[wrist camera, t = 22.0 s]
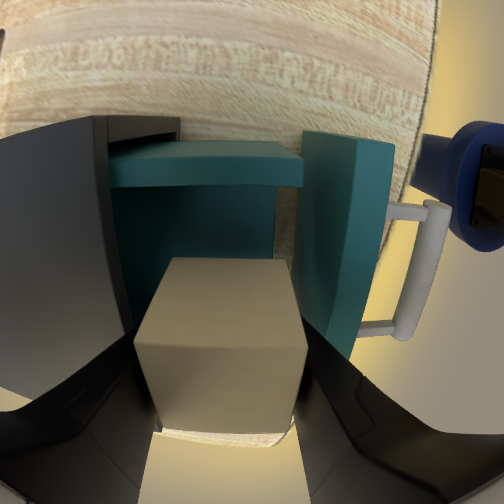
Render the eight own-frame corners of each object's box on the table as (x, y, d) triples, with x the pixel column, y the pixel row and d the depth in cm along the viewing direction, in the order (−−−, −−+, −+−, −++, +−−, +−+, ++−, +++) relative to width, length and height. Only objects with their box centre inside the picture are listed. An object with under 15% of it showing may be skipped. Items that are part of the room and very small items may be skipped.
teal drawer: (405, 144, 14) (502, 172, 7) (372, 312, 19) (416, 398, 12) (81, 138, 13) (-17, 163, 6) (107, 307, 18) (60, 390, 11)
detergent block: (286, 258, 9) (309, 347, 6) (277, 343, 11) (288, 433, 7) (172, 256, 9) (132, 341, 5) (182, 341, 11) (163, 429, 7)
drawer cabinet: (180, 117, 14) (93, 115, 6) (190, 312, 20) (161, 433, 11) (-1, 148, 14) (-99, 185, 5) (31, 297, 19) (-30, 371, 10)
